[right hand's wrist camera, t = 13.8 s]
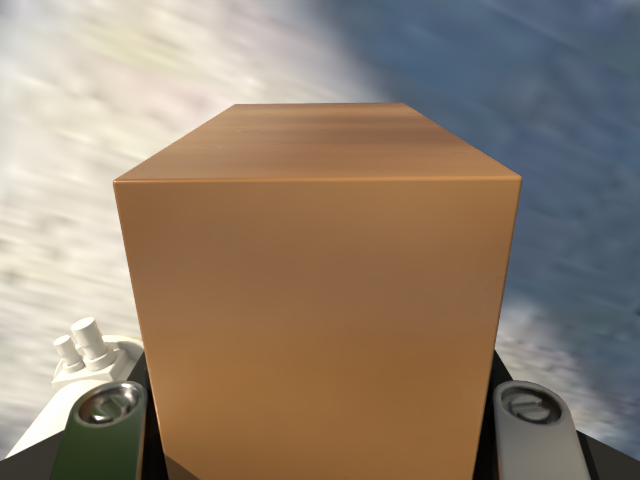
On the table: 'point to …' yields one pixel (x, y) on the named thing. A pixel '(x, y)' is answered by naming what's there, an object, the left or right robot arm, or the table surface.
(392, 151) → the beam
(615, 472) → the right robot arm
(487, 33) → the table surface
